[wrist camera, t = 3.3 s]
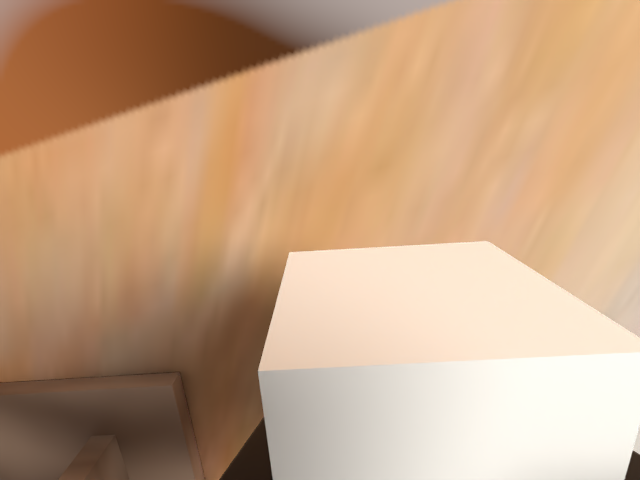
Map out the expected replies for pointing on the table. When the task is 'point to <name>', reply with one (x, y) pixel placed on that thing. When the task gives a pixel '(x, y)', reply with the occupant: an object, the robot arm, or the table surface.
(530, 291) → the white rectangular block
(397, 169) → the table surface
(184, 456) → the rack
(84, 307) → the table surface
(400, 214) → the table surface
